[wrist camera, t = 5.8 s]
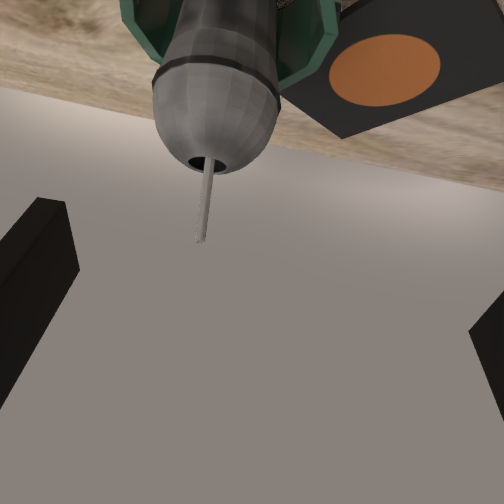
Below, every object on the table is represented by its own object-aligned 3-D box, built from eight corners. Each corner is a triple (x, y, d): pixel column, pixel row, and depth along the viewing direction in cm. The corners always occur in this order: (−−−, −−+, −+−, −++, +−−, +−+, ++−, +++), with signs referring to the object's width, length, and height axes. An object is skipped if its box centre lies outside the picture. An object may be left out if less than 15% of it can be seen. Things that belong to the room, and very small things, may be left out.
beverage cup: (175, -32, 27) (121, 247, 23) (195, -152, 20) (122, 213, 16) (273, 5, 29) (241, 268, 25) (320, -92, 22) (287, 246, 18)
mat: (462, -66, 23) (462, -54, 23) (529, 63, 32) (529, 73, 32) (253, 68, 36) (252, 76, 36) (342, 133, 45) (341, 140, 45)
